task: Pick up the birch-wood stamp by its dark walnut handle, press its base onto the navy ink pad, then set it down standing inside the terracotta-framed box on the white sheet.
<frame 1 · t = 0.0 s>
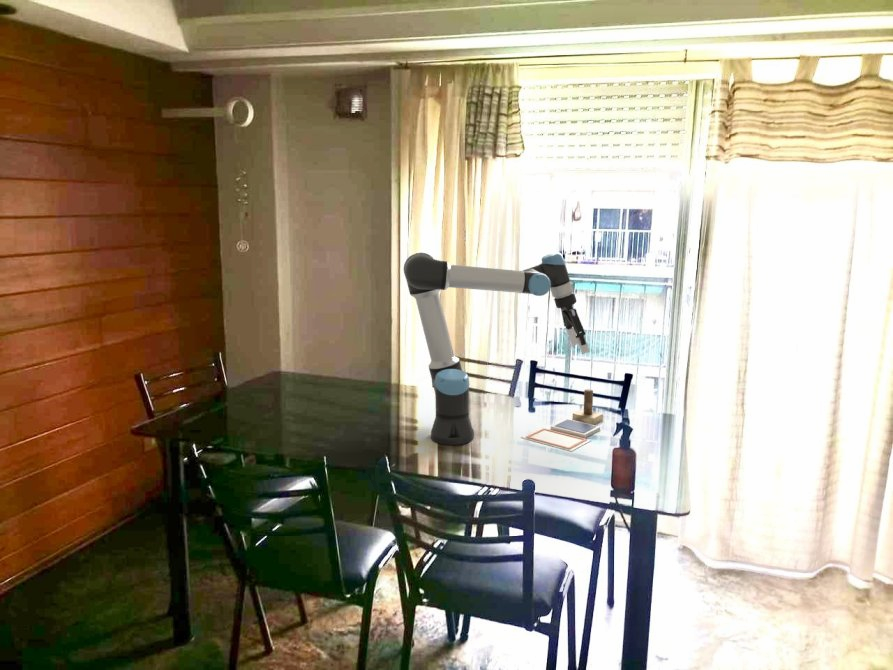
hand: (580, 348, 244), 28 cm above the table, fingers open, 13 cm apart
marked sheet: (556, 439, 230), on the table
ink pad: (575, 429, 239), on the table
stamp: (587, 420, 250), on the table
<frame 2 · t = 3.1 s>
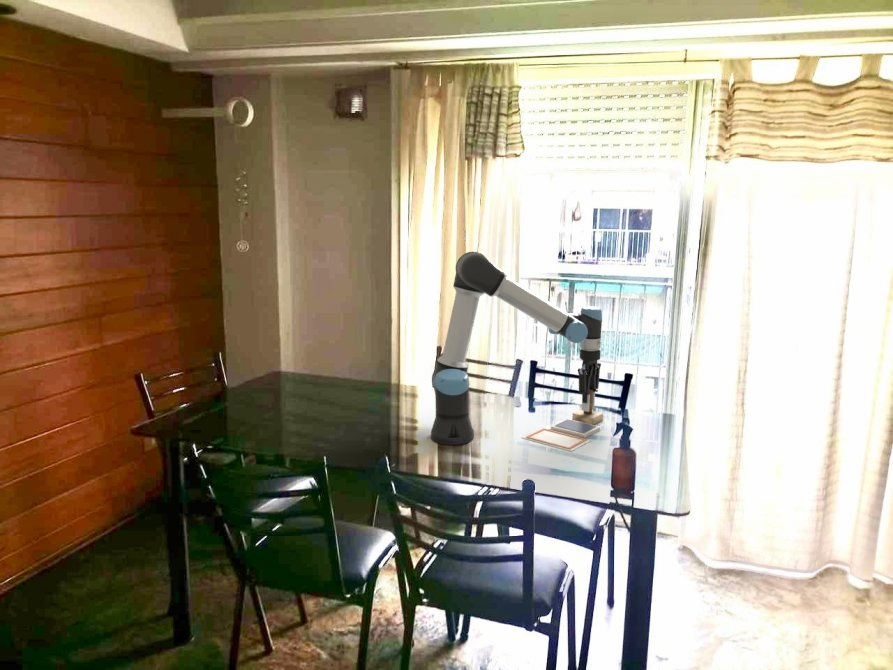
hand: (588, 409, 249), 4 cm above the table, fingers closed on stamp, 3 cm apart
stamp: (587, 419, 250), on the table, touching gripper
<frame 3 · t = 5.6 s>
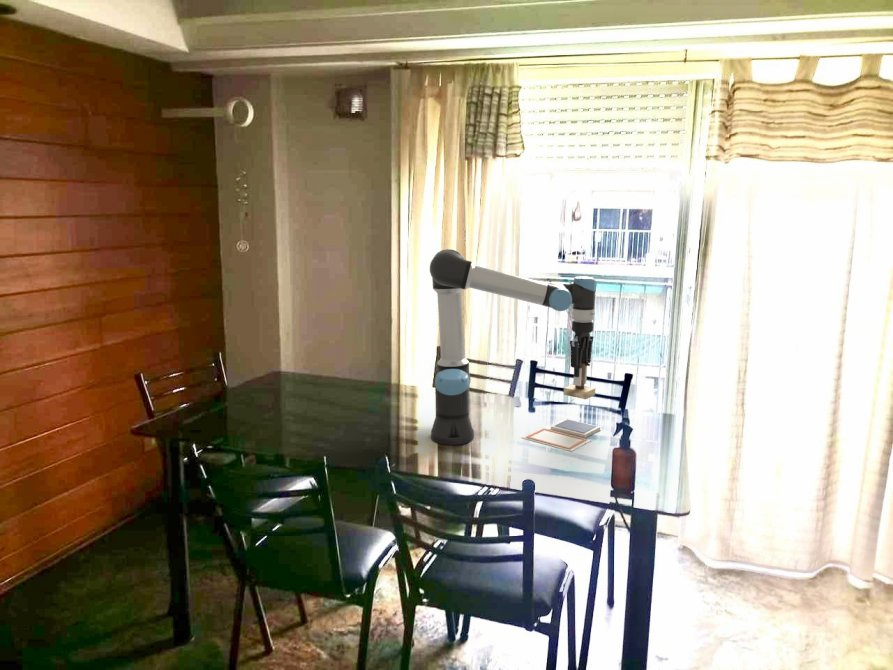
hand: (579, 384, 240), 16 cm above the table, fingers closed on stamp, 3 cm apart
stamp: (579, 394, 241), point 12 cm above the table, touching gripper
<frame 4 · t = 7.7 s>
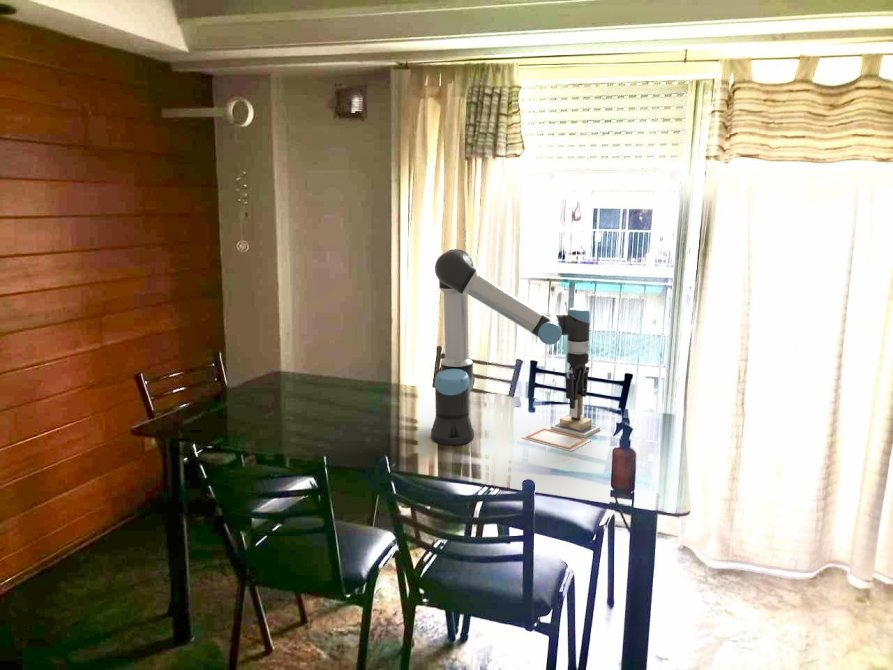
hand: (576, 415, 238), 5 cm above the table, fingers closed on stamp, 3 cm apart
stamp: (575, 425, 239), point 1 cm above the table, touching gripper, ink pad
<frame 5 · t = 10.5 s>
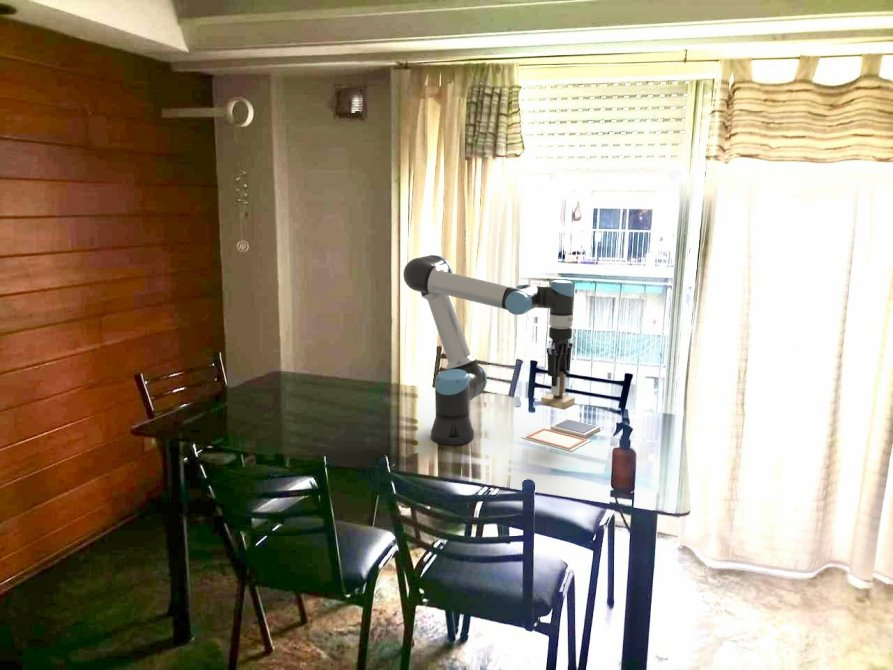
hand: (558, 393, 227), 16 cm above the table, fingers closed on stamp, 3 cm apart
stamp: (557, 404, 228), point 12 cm above the table, touching gripper
when the fingers open (4 cm above the table, at t = 12.7 s): stamp stays where it is, resting on marked sheet.
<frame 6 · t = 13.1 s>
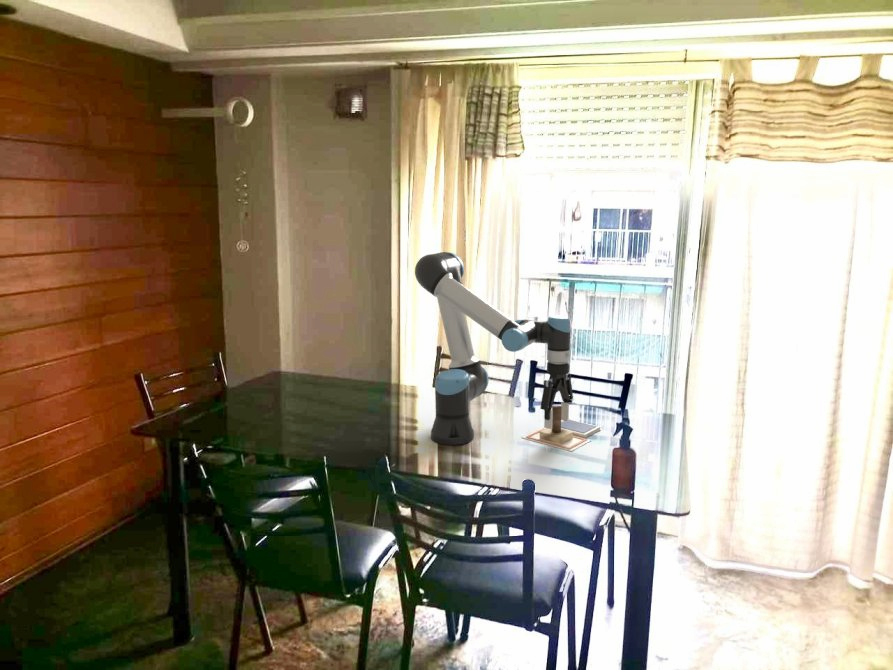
hand: (556, 424, 229), 5 cm above the table, fingers open, 10 cm apart
stamp: (556, 438, 230), resting on marked sheet
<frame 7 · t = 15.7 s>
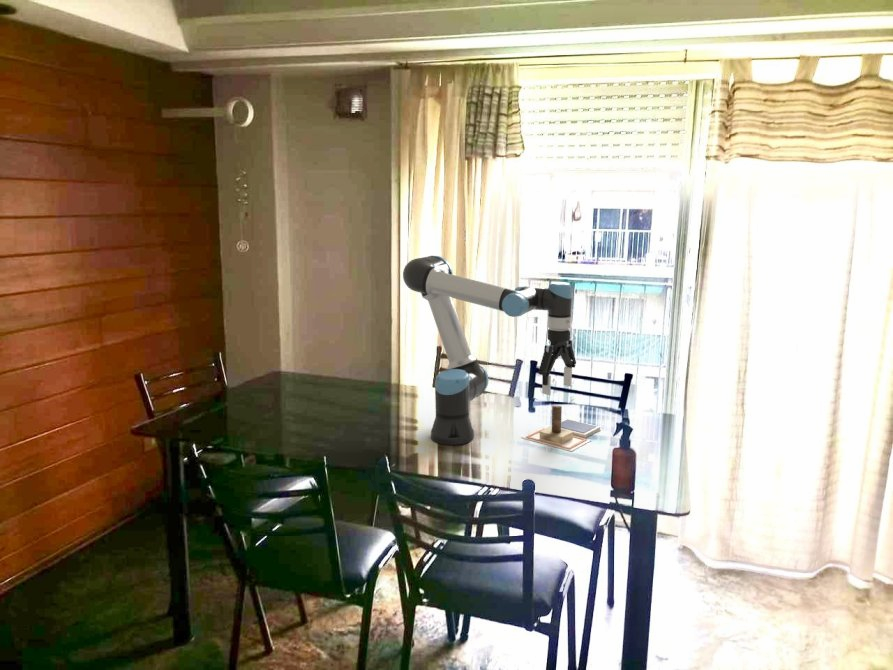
hand: (557, 389, 226), 18 cm above the table, fingers open, 13 cm apart
nothing on the table moved.
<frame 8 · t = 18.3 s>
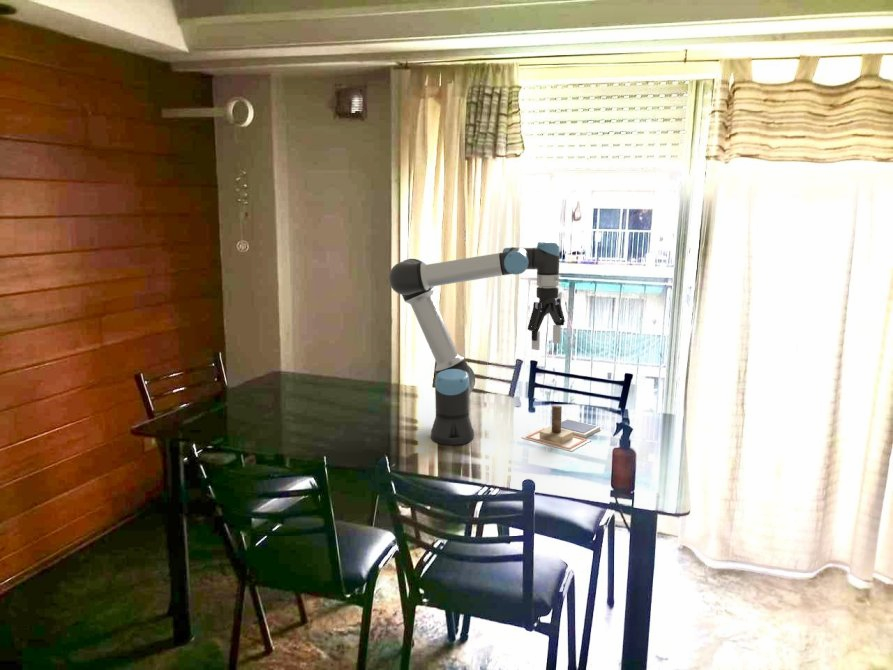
hand: (546, 346, 234), 31 cm above the table, fingers open, 13 cm apart
nothing on the table moved.
at the end: stamp 0.0 cm off-centre on the marked sheet, point 0.2 cm above the marked sheet's base; stamp tilted 0°; the gripper is holding nothing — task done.
